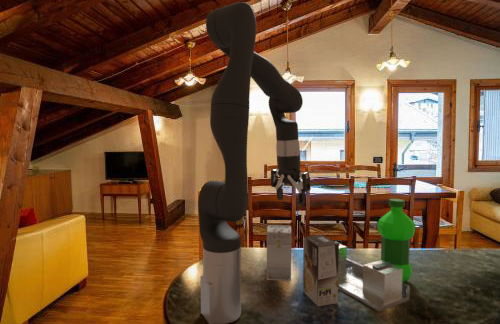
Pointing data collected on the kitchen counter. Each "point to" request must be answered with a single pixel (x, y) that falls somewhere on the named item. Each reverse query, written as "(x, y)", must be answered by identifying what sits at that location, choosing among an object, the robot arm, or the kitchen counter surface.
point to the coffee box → (320, 269)
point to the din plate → (372, 282)
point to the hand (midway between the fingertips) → (290, 201)
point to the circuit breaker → (279, 252)
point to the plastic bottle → (396, 237)
